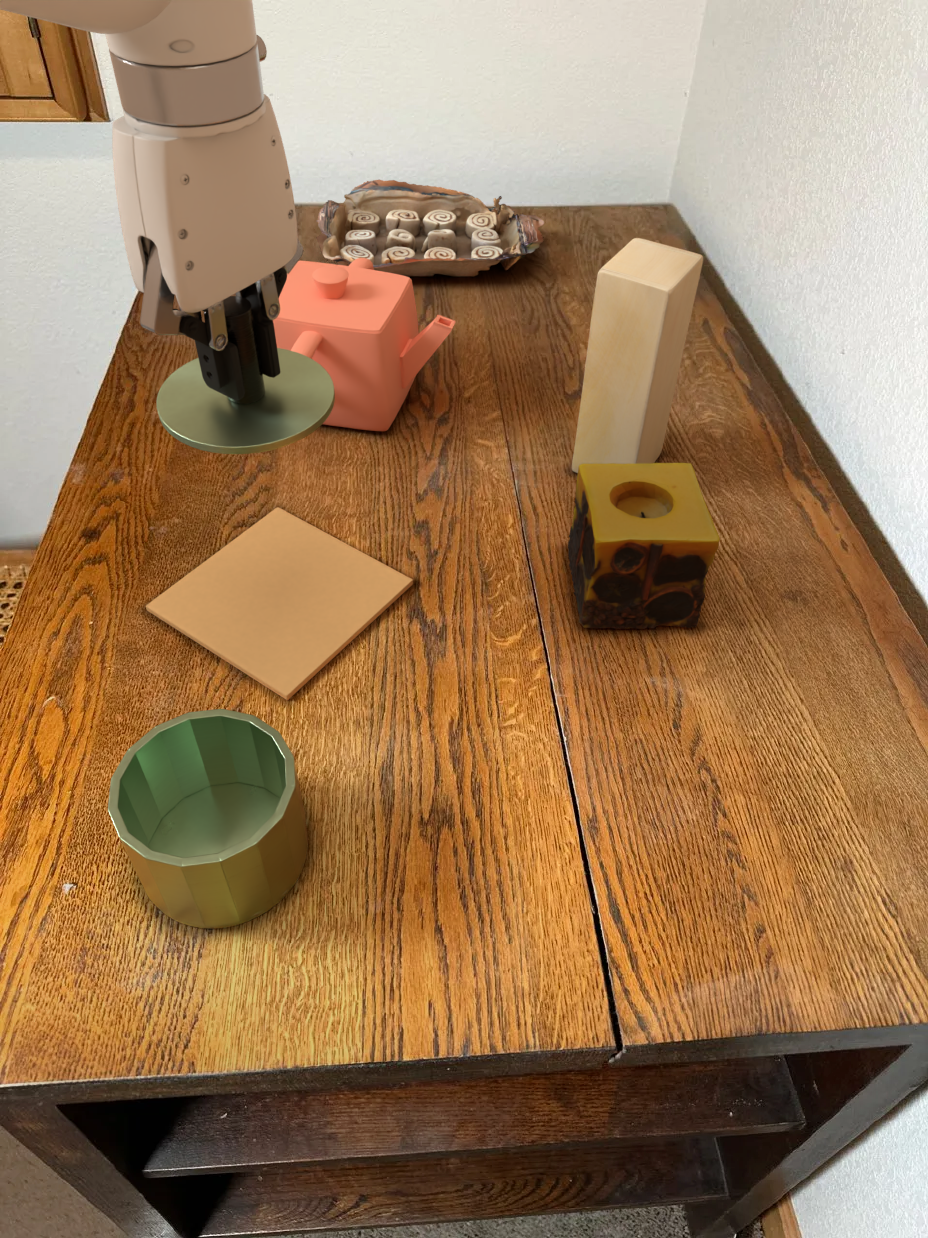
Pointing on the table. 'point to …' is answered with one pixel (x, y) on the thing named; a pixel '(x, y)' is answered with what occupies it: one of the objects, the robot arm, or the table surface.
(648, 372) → the tall beige wooden block
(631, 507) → the candle
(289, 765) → the pot
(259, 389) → the lid
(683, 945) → the table surface
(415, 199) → the baking tray
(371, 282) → the teapot
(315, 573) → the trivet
